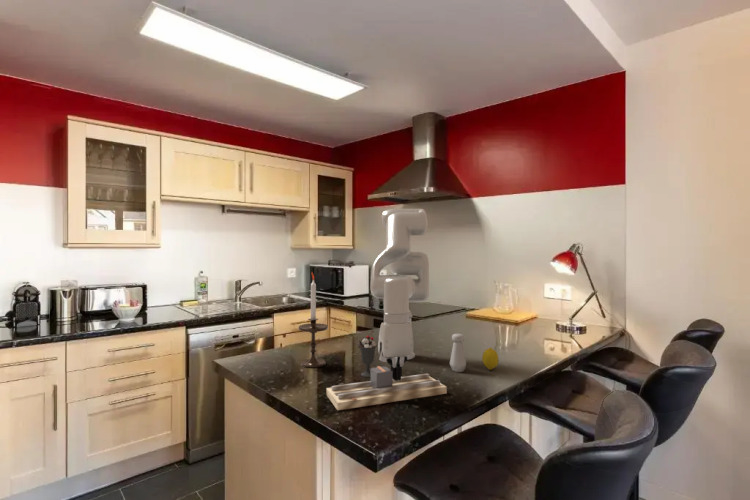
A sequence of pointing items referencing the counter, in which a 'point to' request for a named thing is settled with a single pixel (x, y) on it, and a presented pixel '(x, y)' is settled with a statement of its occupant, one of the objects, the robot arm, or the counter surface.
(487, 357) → the lemon
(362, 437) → the counter surface
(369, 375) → the sundae
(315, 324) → the candlestick
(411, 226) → the robot arm
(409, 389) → the fader board
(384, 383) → the fader knob
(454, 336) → the salt shaker
